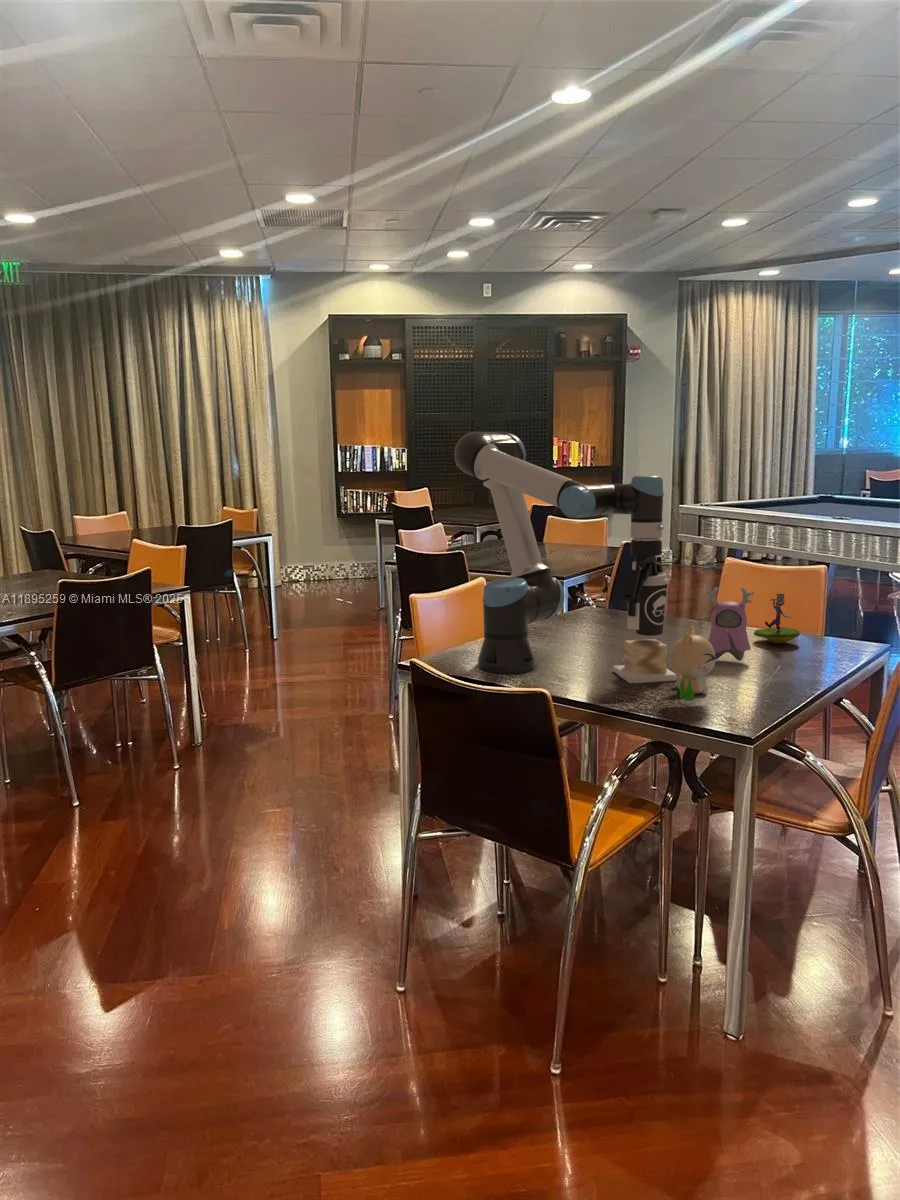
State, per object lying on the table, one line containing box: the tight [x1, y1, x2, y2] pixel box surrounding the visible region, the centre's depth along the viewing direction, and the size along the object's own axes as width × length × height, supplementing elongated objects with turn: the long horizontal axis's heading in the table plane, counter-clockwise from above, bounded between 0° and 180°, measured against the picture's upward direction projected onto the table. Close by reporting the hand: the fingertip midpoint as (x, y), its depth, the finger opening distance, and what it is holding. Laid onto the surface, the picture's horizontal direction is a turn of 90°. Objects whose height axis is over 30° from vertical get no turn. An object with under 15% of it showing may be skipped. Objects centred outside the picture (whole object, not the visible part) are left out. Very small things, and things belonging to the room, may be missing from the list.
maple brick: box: [623, 638, 668, 675], centre depth 205 cm, size 8×8×7 cm
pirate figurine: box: [753, 593, 801, 644], centre depth 239 cm, size 14×13×15 cm
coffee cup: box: [635, 572, 670, 637], centre depth 205 cm, size 10×10×15 cm
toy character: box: [705, 586, 755, 662], centre depth 218 cm, size 12×10×20 cm
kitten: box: [670, 625, 717, 702], centre depth 189 cm, size 15×10×15 cm, turn 156°
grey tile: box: [613, 664, 678, 684], centre depth 206 cm, size 12×12×2 cm
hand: (644, 624), depth 204 cm, fingers open, 12 cm apart
